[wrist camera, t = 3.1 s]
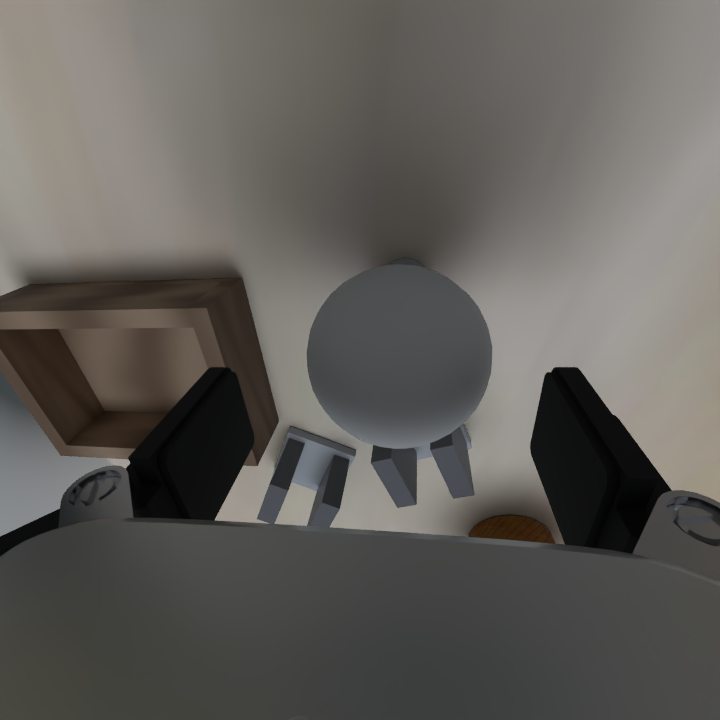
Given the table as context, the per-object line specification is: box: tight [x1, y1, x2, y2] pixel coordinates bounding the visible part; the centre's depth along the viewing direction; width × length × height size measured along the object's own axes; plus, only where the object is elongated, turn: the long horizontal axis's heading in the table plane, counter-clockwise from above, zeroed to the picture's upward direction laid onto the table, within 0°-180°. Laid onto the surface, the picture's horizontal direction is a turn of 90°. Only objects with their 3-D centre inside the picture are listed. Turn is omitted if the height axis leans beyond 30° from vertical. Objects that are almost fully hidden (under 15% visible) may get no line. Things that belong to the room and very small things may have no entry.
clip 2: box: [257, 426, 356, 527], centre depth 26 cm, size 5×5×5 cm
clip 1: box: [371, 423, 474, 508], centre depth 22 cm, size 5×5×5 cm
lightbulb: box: [307, 258, 492, 449], centre depth 15 cm, size 6×6×11 cm
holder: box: [0, 278, 279, 466], centre depth 23 cm, size 14×10×4 cm
